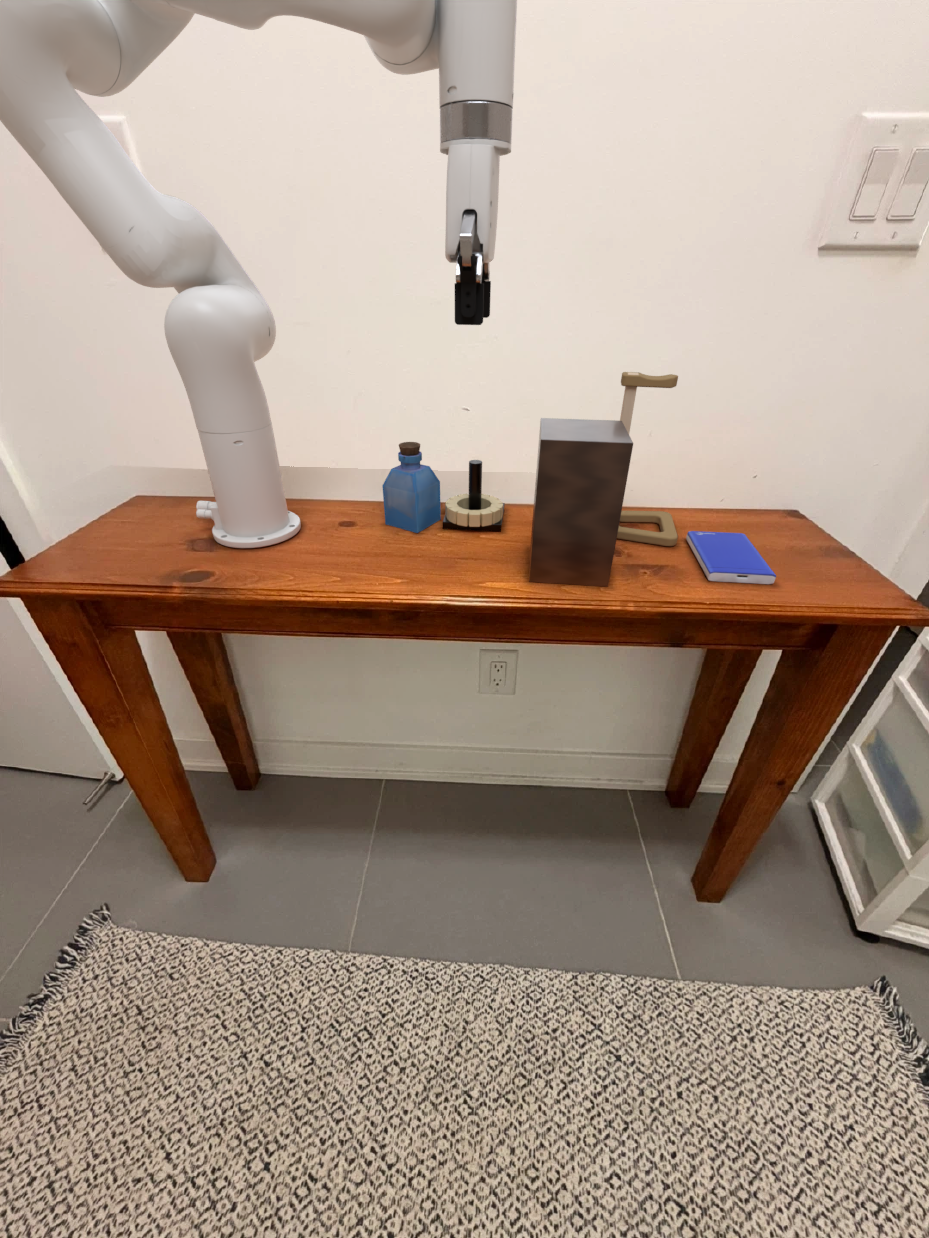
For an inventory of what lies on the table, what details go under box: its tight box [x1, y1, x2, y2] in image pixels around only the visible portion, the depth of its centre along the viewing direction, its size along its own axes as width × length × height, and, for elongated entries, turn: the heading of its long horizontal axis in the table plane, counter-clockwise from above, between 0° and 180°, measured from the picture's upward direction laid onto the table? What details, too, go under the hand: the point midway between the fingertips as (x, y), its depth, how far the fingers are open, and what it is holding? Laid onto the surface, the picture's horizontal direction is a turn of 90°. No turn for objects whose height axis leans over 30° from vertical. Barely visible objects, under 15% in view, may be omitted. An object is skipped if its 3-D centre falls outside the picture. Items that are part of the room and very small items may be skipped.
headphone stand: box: [617, 371, 679, 547], centre depth 77 cm, size 10×11×22 cm
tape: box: [444, 493, 504, 527], centre depth 84 cm, size 9×9×2 cm
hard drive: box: [685, 530, 777, 585], centre depth 74 cm, size 2×8×12 cm
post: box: [442, 459, 506, 533], centre depth 84 cm, size 9×9×9 cm
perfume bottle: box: [381, 441, 442, 534], centre depth 82 cm, size 6×6×12 cm
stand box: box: [528, 417, 634, 588], centre depth 68 cm, size 10×10×18 cm
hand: (473, 320), depth 66 cm, fingers open, 9 cm apart
